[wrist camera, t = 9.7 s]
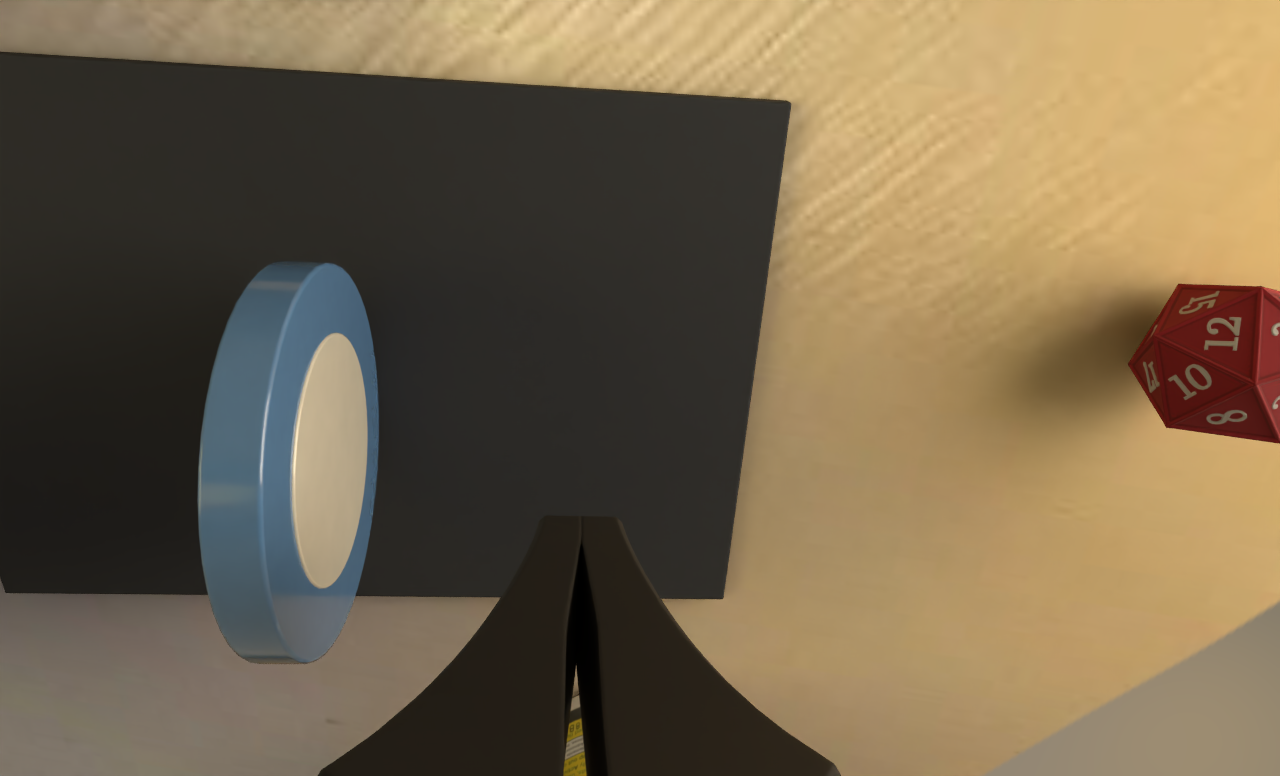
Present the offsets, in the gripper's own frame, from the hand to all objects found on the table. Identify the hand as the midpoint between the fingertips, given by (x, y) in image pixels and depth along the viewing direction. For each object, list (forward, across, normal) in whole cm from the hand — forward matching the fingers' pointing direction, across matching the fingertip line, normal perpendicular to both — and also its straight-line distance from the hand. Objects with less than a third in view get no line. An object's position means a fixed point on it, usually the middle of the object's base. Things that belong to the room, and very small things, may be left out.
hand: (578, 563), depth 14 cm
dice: (+8, -16, -2) cm, 18 cm away
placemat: (+8, +6, 0) cm, 10 cm away
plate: (+3, +6, 0) cm, 6 cm away
